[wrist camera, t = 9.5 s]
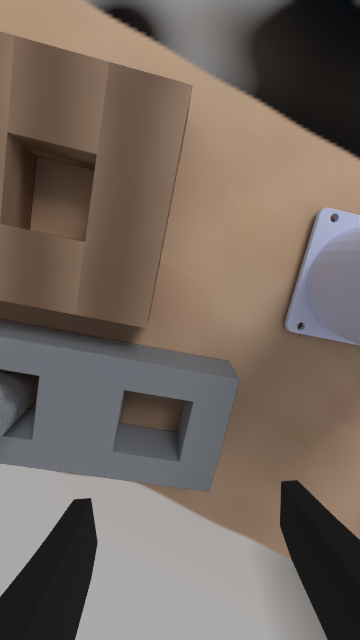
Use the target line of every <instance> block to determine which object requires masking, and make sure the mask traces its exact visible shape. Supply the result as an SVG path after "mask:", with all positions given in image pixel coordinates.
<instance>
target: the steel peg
mask: <svg viewBox="0 0 360 640" xmlns="http://www.w3.org/2000/svg"><path fill="white" fill-rule="evenodd" d="M38 384H39V376H38V375H32V374H26V373H20V372H14V371H8V370H2V369H0V437H1V436H2V435H3V434H4V433H5V432H6V431H7V430H8V429H9V428H10V427H11V426H12V425H13V424H14V422H15V421H16V420H17V419H18V418H19V417H20V416H21V415H22V414H23V413H24V412H25V411H26V410H27V409H28V408H29V406H30V405H31V404H32V403H33V402H34V401H35V400H36V399H37V393H38Z"/></svg>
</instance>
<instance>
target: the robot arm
mask: <svg viewBox="0 0 360 640" xmlns="http://www.w3.org/2000/svg"><path fill="white" fill-rule="evenodd" d="M331 215H334V217H335V220H334V222H332V221H331V220H330V218H331ZM299 323H302V327H301V328H299V329H298V328H297V325H298V324H299ZM285 328H286V329H287V330H288V331H290V332H294V333H299V334H304V335H309V336H314V337H319V338H324V339H329V340H334V341H339V342H344V343H349V344H354V345H359V346H360V215H356V214H352V213H348V212H344V211H340V210H336V209H332V208H324V209H321V210H320V211H319V212H318V213H317V215H316V218H315V222H314V225H313V229H312V232H311V235H310V239H309V242H308V245H307V249H306V252H305V256H304V259H303V262H302V266H301V269H300V272H299V276H298V279H297V283H296V286H295V289H294V293H293V296H292V300H291V303H290V306H289V310H288V313H287V316H286V320H285ZM280 527H281V530H282V533H283V536H284V539H285V542H286V545H287V548H288V551H289V553H290V556H291V559H292V561H293V563H294V566H295V568H296V570H297V572H298V575H299V577H300V579H301V581H302V584H303V586H304V588H305V590H306V593H307V594H308V597H309V599H310V601H311V604H312V606H313V608H314V610H315V612H316V614H317V617H318V619H319V621H320V623H321V626H322V628H323V630H324V632H325V634H326V637H327V639H328V640H360V540H359V539H358V538H357V537H356V536H355V535H354V534H353V533H352V532H351V531H349V530H348V529H347V528H346V527H345V526H344V525H343V524H342V523H341V522H340V521H339V520H338V519H336V518H335V517H334V516H333V515H332V514H331V513H330V512H329V511H328V510H327V509H326V508H325V507H324V506H323V505H322V504H321V503H320V502H319V501H318V500H317V499H316V498H315V497H314V496H313V495H312V494H311V493H310V492H309V491H308V490H307V489H306V488H305V487H304V486H303V485H302V484H301V483H299V482H298V481H297V480H295V481H283V482H281V509H280ZM96 548H97V536H96V529H95V523H94V516H93V509H92V502H91V498H88V499H75V500H74V501H73V502H72V503H71V504H70V506H69V507H68V508H67V510H66V511H65V513H64V514H63V516H62V517H61V518H60V520H59V521H58V523H57V524H56V525H55V527H54V528H53V530H52V531H51V532H50V534H49V535H48V537H47V538H46V540H45V541H44V542H43V543H42V545H41V546H40V547H39V549H38V550H37V552H36V553H35V554H34V555H33V557H32V558H31V559H30V561H29V562H28V563H27V564H26V566H25V567H24V568H23V570H22V571H21V572H20V573H19V575H18V576H17V577H16V578H15V579H14V581H13V582H12V583H11V584H10V586H9V587H8V588H7V589H6V591H5V592H4V593H3V594H2V595H1V597H0V640H75V637H76V634H77V630H78V626H79V622H80V618H81V615H82V611H83V608H84V604H85V599H86V596H87V592H88V589H89V585H90V581H91V577H92V571H93V566H94V560H95V554H96Z"/></svg>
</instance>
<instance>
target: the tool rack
mask: <svg viewBox="0 0 360 640" xmlns="http://www.w3.org/2000/svg"><path fill="white" fill-rule="evenodd" d="M0 369H2V370H8V371H14V372H20V373H26V374H32V375H38V376H39V384H38V393H37V402H36V410H31V409H27V410H26V411H25V412H24V413H23V414H22V415H21V416H20V417H19V418H18V419H17V420H16V421H15V422H14V424H13V425H12V426H11V427H10V428H9V429H8V430H7V431H6V432H5V433H4V434H3V435H2V436H1V437H0V463H1V464H9V465H16V466H24V467H30V468H38V469H45V470H52V471H60V472H67V473H74V474H81V475H89V476H96V477H103V478H111V479H118V480H125V481H132V482H139V483H147V484H154V485H161V486H168V487H176V488H183V489H190V490H198V491H205V492H209V491H210V488H211V484H212V480H213V477H214V473H215V469H216V466H217V462H218V458H219V455H220V451H221V448H222V444H223V440H224V437H225V433H226V429H227V426H228V422H229V418H230V415H231V411H232V407H233V404H234V400H235V396H236V393H237V389H238V385H239V382H240V379H239V377H238V375H237V374H236V372H235V371H234V369H233V367H232V366H231V364H230V363H229V361H224V360H219V359H213V358H208V357H203V356H197V355H192V354H186V353H181V352H176V351H170V350H165V349H159V348H154V347H148V346H143V345H138V344H132V343H127V342H121V341H116V340H111V339H105V338H100V337H94V336H89V335H83V334H78V333H73V332H67V331H62V330H56V329H51V328H46V327H40V326H35V325H29V324H24V323H18V322H13V321H8V320H2V319H0ZM126 390H127V391H133V392H139V393H144V394H150V395H156V396H162V397H168V398H174V399H180V400H185V402H184V406H183V410H182V414H181V419H180V423H179V427H178V432H171V431H165V430H158V429H152V428H146V427H139V426H133V425H126V424H120V423H121V417H122V412H123V407H124V401H125V396H126Z"/></svg>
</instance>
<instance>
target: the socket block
mask: <svg viewBox="0 0 360 640" xmlns="http://www.w3.org/2000/svg"><path fill="white" fill-rule="evenodd" d="M191 91H192V85H190V84H186V83H183V82H179V81H175V80H172V79H168V78H165V77H161V76H157V75H154V74H150V73H147V72H143V71H139V70H136V69H132V68H129V67H125V66H122V65H118V64H114V63H111V62H107V61H104V60H100V59H96V58H93V57H89V56H86V55H82V54H78V53H75V52H71V51H68V50H64V49H60V48H57V47H53V46H50V45H46V44H42V43H39V42H35V41H32V40H28V39H25V38H21V37H17V36H14V35H10V34H7V33H3V32H0V301H5V302H11V303H16V304H21V305H26V306H32V307H37V308H42V309H47V310H53V311H58V312H63V313H68V314H74V315H79V316H84V317H89V318H94V319H100V320H105V321H110V322H115V323H121V324H126V325H131V326H136V327H142V328H146V327H147V323H148V320H149V316H150V311H151V306H152V300H153V295H154V290H155V285H156V279H157V274H158V269H159V264H160V259H161V253H162V248H163V243H164V238H165V233H166V227H167V222H168V217H169V212H170V206H171V201H172V196H173V191H174V186H175V180H176V175H177V170H178V165H179V159H180V154H181V149H182V144H183V139H184V133H185V128H186V123H187V118H188V111H189V105H190V98H191ZM37 156H39V157H43V158H47V159H51V160H56V161H60V162H64V163H68V164H72V165H76V166H80V167H85V168H89V169H93V170H95V172H94V179H93V187H92V194H91V201H90V209H89V216H88V224H87V231H86V238H85V242H82V241H78V240H73V239H68V238H64V237H59V236H55V235H50V234H45V233H41V232H36V231H31V230H30V221H31V211H32V200H33V189H34V179H35V168H36V158H37Z"/></svg>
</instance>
